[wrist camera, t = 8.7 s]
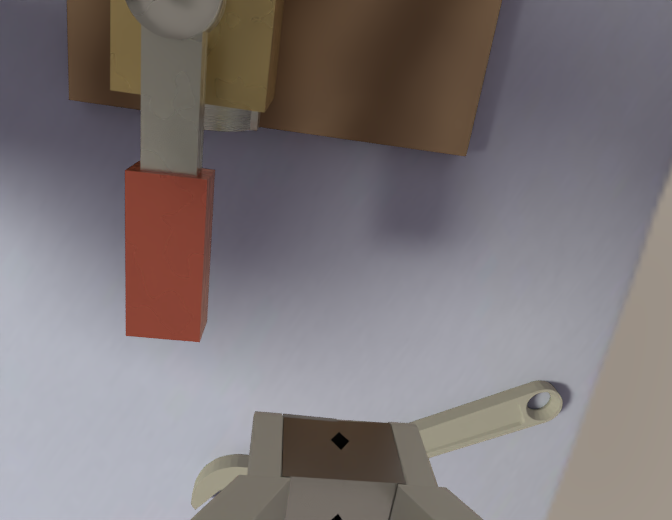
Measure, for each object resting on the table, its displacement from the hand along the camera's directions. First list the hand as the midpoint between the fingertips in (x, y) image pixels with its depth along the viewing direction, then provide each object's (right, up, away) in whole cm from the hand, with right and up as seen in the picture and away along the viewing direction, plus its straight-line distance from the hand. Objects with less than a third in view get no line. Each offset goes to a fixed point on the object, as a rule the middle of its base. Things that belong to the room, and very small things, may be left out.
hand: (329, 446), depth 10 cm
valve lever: (-5, +7, +9) cm, 12 cm away
